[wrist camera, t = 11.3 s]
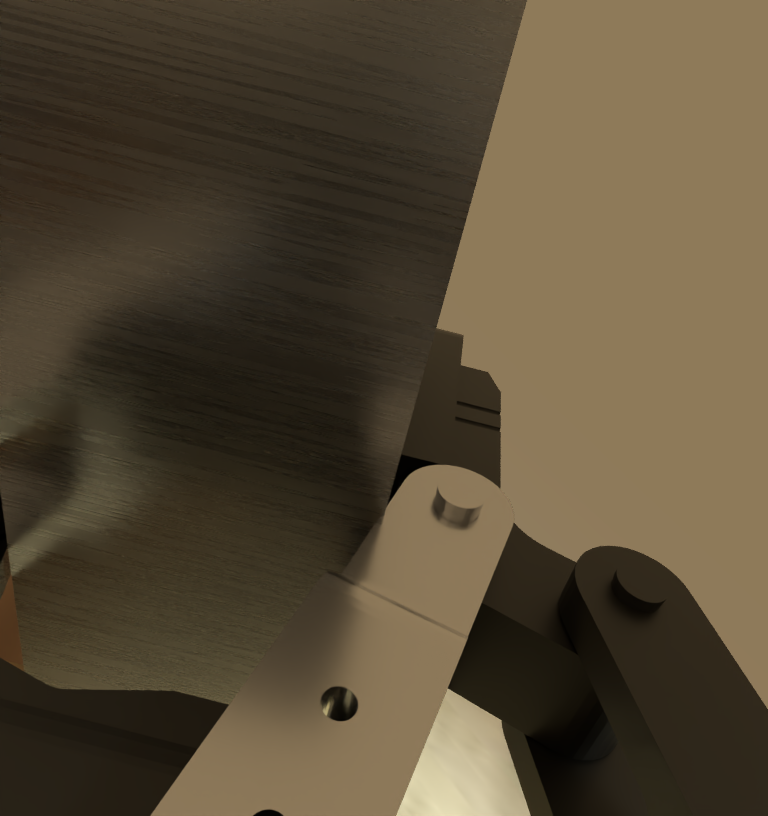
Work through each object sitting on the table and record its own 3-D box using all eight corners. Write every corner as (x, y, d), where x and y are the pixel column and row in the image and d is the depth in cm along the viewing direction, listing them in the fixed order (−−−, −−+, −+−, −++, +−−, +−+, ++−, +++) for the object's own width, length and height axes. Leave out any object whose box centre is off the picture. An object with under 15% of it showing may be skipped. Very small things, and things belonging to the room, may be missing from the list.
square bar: (324, 701, 15) (524, -51, 8) (275, 908, 12) (543, -60, 4) (146, 656, 15) (167, -141, 8) (47, 850, 12) (-93, -218, 4)
